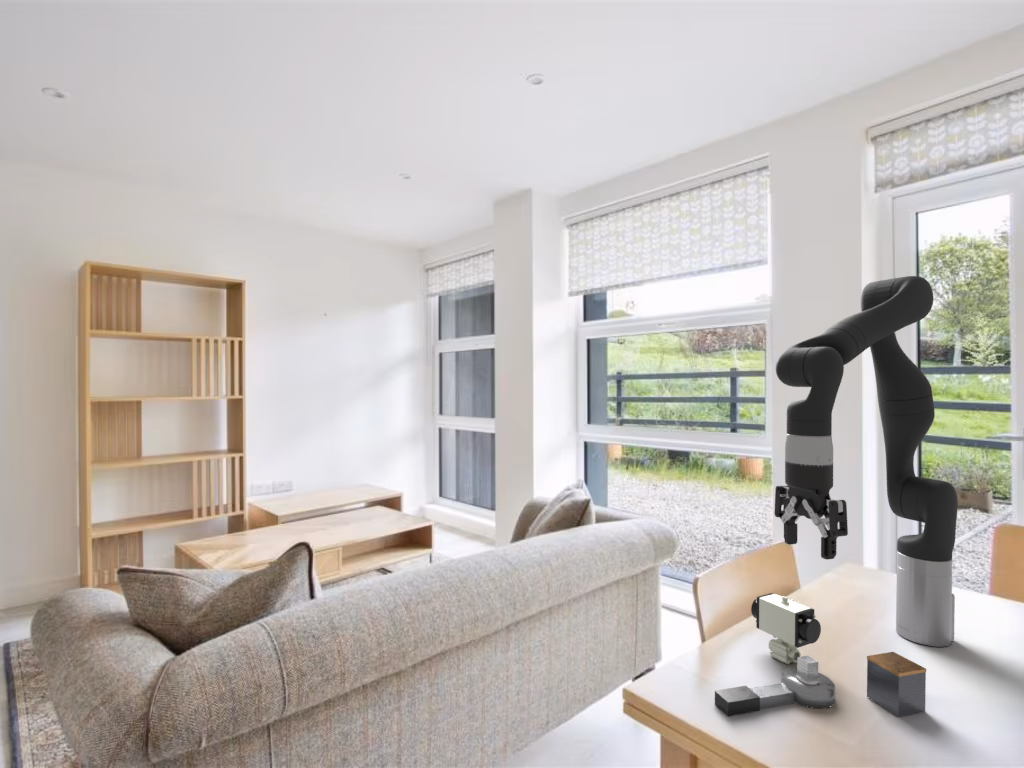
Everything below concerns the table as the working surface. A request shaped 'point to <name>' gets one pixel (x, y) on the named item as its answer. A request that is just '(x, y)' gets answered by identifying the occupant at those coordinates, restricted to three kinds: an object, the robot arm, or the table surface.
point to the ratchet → (781, 691)
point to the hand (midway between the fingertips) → (808, 550)
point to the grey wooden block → (896, 683)
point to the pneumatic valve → (785, 625)
